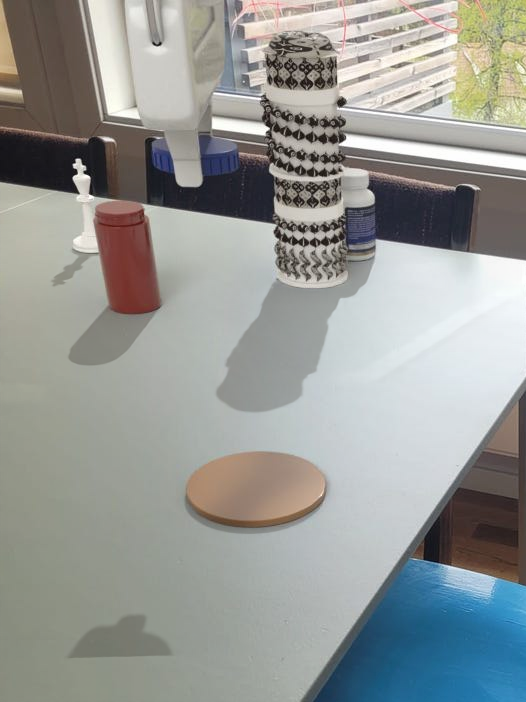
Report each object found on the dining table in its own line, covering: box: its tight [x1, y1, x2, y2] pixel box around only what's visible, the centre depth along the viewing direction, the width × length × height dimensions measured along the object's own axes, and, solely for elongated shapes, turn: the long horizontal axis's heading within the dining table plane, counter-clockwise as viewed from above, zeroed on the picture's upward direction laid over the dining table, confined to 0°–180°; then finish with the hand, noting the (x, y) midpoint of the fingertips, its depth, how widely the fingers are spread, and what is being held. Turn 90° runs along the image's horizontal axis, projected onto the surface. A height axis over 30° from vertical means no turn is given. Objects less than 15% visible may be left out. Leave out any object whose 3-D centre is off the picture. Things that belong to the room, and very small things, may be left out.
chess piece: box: [72, 158, 99, 254], centre depth 120 cm, size 5×5×10 cm
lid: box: [151, 136, 240, 177], centre depth 72 cm, size 6×6×1 cm
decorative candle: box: [259, 30, 349, 289], centre depth 111 cm, size 9×9×25 cm
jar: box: [93, 200, 163, 315], centre depth 106 cm, size 6×6×10 cm
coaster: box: [185, 450, 327, 528], centre depth 80 cm, size 11×11×1 cm
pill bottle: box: [341, 167, 377, 262], centre depth 123 cm, size 5×5×10 cm
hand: (196, 170), depth 73 cm, fingers closed on lid, 6 cm apart
